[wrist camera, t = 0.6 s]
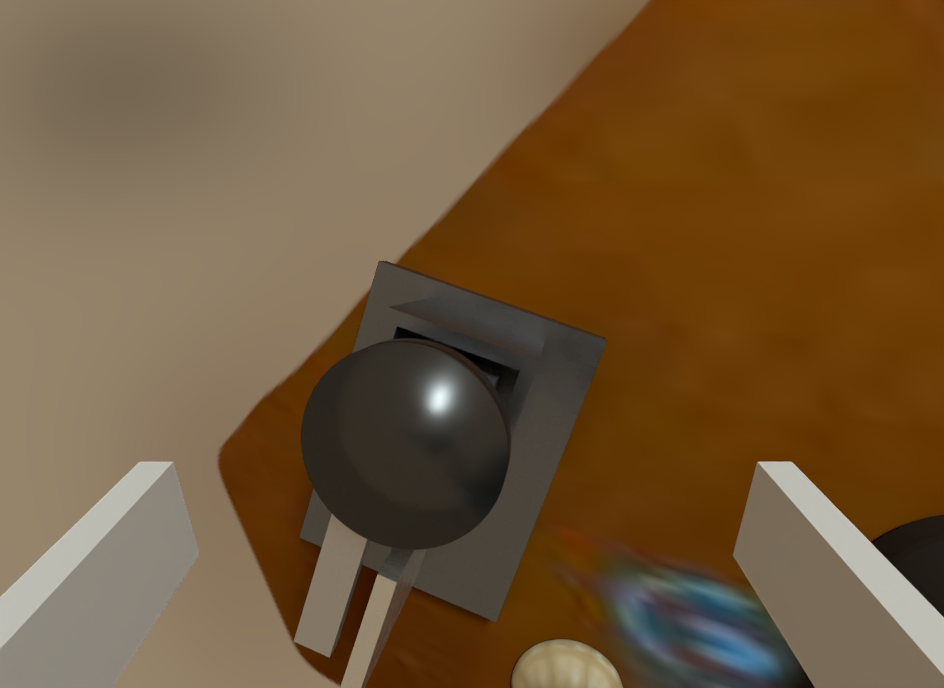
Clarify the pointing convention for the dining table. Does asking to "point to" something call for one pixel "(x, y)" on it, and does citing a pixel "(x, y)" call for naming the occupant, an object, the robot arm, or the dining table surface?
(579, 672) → the hand bell
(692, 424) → the dining table surface
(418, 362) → the black ball joystick
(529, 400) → the press stand
